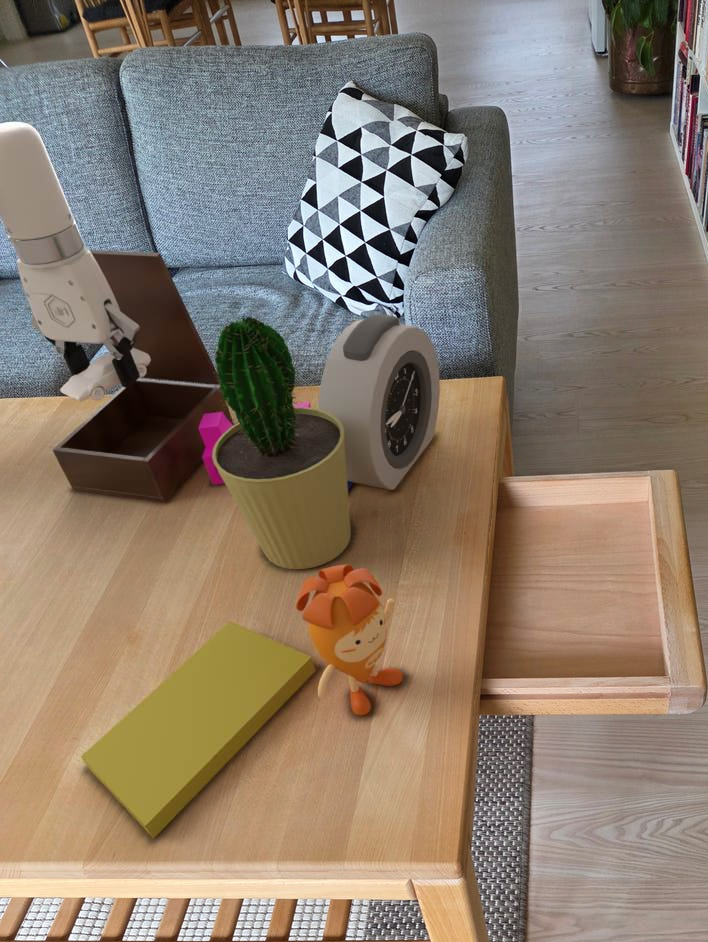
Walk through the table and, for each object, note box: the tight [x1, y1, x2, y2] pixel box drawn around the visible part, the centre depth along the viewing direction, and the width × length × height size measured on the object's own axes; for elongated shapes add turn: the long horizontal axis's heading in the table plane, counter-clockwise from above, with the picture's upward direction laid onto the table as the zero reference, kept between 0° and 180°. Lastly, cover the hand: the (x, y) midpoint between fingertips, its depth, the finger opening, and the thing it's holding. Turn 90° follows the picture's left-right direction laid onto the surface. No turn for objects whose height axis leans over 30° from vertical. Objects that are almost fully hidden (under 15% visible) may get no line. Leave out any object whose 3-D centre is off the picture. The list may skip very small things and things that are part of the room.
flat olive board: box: [80, 620, 317, 839], centre depth 90 cm, size 12×2×24 cm
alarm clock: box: [317, 313, 441, 491], centre depth 115 cm, size 21×8×20 cm, turn 158°
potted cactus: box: [207, 312, 352, 570], centre depth 100 cm, size 15×15×30 cm
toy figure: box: [295, 564, 404, 717], centre depth 87 cm, size 12×8×15 cm, turn 141°
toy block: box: [198, 401, 312, 485], centre depth 121 cm, size 15×6×8 cm, turn 91°
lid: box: [88, 249, 220, 386], centre depth 121 cm, size 20×16×1 cm
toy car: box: [59, 348, 151, 402], centre depth 115 cm, size 6×12×3 cm, turn 142°
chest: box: [52, 378, 235, 503], centre depth 126 cm, size 20×16×7 cm
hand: (107, 379), depth 116 cm, fingers closed on toy car, 6 cm apart
